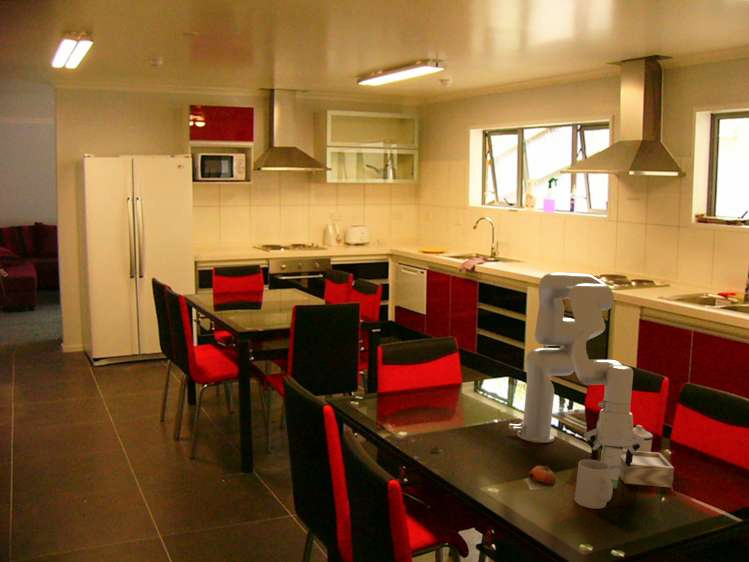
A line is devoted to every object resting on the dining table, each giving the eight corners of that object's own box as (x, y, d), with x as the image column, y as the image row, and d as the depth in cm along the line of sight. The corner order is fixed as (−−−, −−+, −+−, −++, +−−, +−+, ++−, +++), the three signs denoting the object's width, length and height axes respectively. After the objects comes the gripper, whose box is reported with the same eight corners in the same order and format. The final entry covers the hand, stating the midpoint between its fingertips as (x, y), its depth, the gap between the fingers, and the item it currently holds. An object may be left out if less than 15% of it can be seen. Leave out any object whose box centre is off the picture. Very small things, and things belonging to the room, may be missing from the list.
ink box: (598, 477, 245) (602, 439, 244) (615, 479, 244) (619, 441, 243) (600, 486, 237) (604, 447, 235) (618, 489, 236) (622, 450, 234)
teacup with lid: (639, 455, 269) (643, 421, 268) (656, 464, 261) (660, 429, 259) (607, 456, 266) (611, 421, 265) (623, 465, 257) (627, 430, 256)
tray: (624, 483, 241) (626, 463, 240) (613, 467, 255) (615, 449, 254) (671, 487, 240) (674, 468, 240) (658, 471, 254) (660, 452, 253)
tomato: (551, 484, 231) (539, 461, 234) (532, 495, 234) (520, 472, 237) (562, 482, 238) (551, 459, 241) (544, 492, 241) (532, 470, 244)
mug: (568, 498, 225) (572, 460, 224) (592, 495, 229) (596, 458, 228) (596, 515, 215) (600, 475, 213) (621, 512, 218) (625, 473, 217)
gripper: (589, 408, 234) (584, 465, 236) (649, 412, 233) (644, 470, 235) (584, 401, 242) (579, 457, 243) (642, 406, 241) (637, 462, 242)
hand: (611, 463), depth 239 cm, fingers open, 9 cm apart
